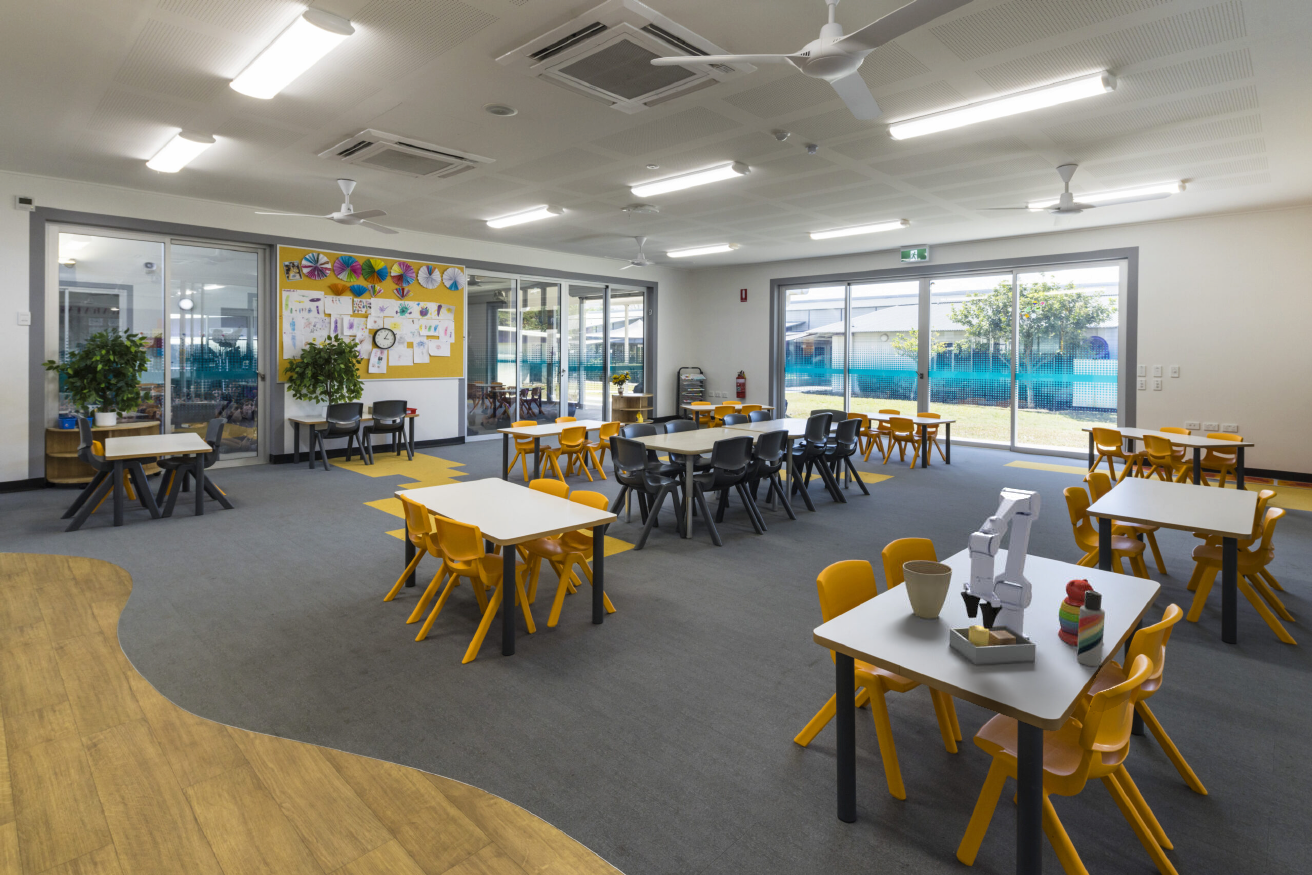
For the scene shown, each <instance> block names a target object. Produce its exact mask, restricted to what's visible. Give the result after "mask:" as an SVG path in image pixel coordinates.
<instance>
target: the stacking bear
mask: <svg viewBox="0 0 1312 875" xmlns="http://www.w3.org/2000/svg"><path fill="white" fill-rule="evenodd" d="M1087 590H1091V591H1095V590H1094V588H1093V587H1092V585H1091V584H1090V583H1089V581H1088V579H1087V578H1083V579H1072V580H1070V581H1068V582H1067V583H1066V586H1065V592H1066V594H1067V596H1066V597H1065V598H1064V599H1063V600H1062V601H1061V603H1060V607H1059V610H1058V621H1059V626H1060V628H1059V630H1058V633H1057V634H1058V637H1059V638H1060V639H1061V640H1062V641H1063V642H1064V643H1067V644H1068V645H1071V646H1075V647H1077V646H1078V630H1079V615H1080V607H1081V606H1084V603H1085V592H1086V591H1087Z"/></svg>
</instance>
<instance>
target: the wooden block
mask: <svg viewBox="0 0 1312 875" xmlns="http://www.w3.org/2000/svg"><path fill="white" fill-rule="evenodd" d="M1002 645H1016V637H1014V636H1013V635H1011V634H1010V633H1008V632H1007V631H1005V630H1004V631H989V639H988V646H1002Z"/></svg>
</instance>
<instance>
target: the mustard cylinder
mask: <svg viewBox="0 0 1312 875" xmlns="http://www.w3.org/2000/svg"><path fill="white" fill-rule="evenodd" d="M968 628H969V641H970V642H971V643H972V644H974V645H975V646H976V647H984V646H988V639H989V630H988V629H985V628H984V627H983V626H982V625H977V624H975V625H970V626H969V627H968Z"/></svg>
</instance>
